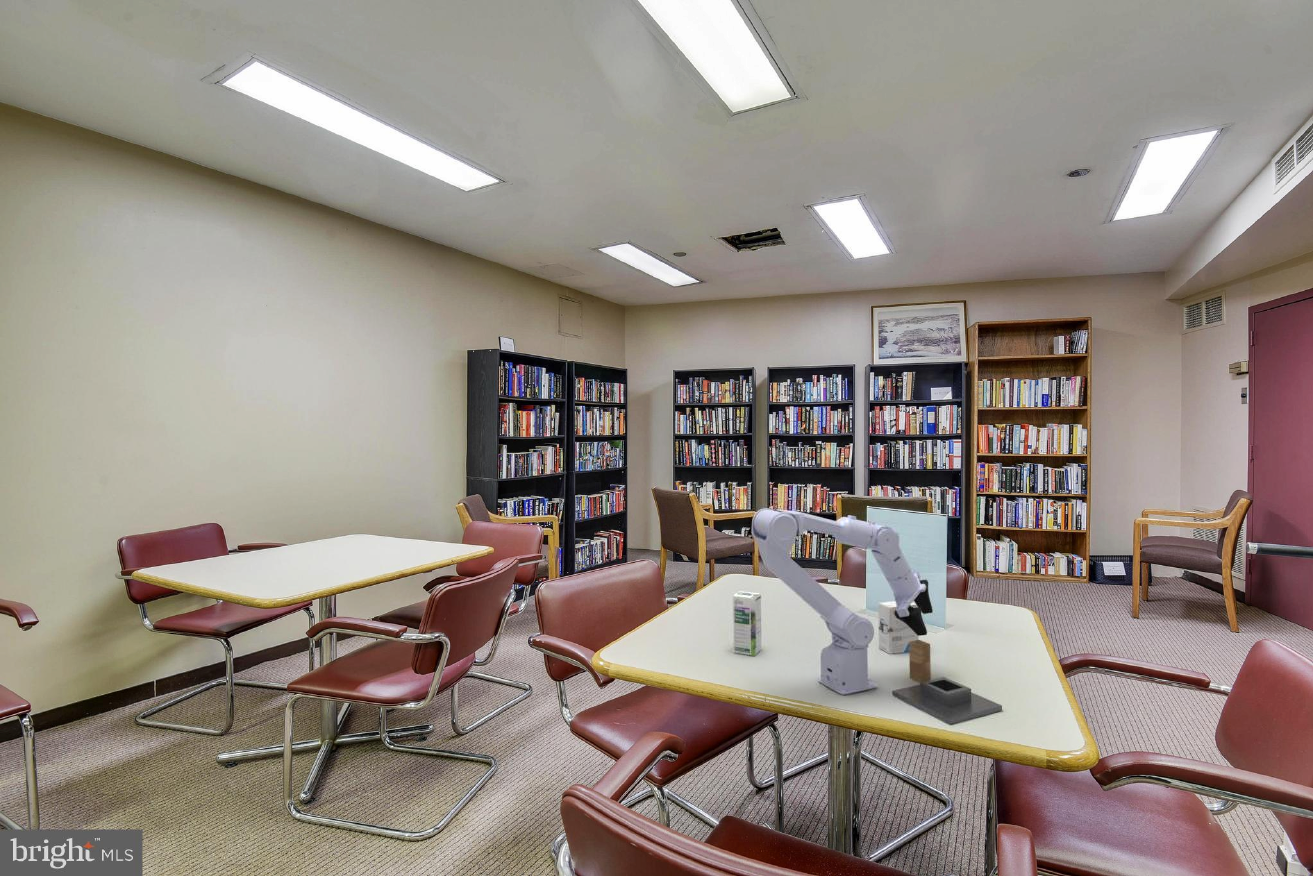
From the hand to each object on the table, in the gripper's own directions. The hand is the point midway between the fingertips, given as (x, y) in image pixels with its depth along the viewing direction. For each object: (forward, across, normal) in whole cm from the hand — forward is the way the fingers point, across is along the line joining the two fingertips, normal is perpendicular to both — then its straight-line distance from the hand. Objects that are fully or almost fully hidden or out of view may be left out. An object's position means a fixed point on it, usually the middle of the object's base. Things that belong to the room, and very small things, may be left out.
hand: (925, 623), depth 133 cm
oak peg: (+9, -7, +4) cm, 12 cm away
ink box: (+13, +8, +14) cm, 21 cm away
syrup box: (-6, -11, +41) cm, 43 cm away
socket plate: (+7, -16, -4) cm, 18 cm away
